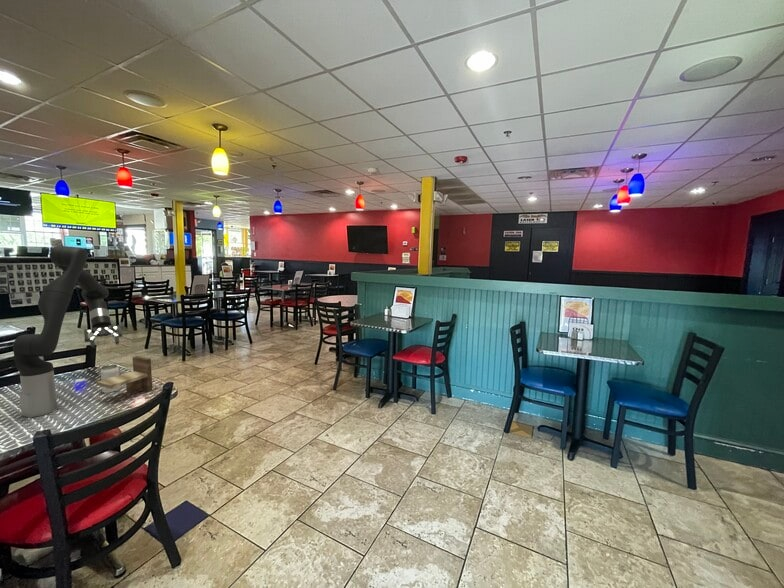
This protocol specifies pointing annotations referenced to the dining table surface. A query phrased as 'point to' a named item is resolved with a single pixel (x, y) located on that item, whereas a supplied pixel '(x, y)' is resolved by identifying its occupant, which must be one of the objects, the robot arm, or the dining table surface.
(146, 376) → the wooden l-shaped bracket
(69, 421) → the dining table surface
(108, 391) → the can
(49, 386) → the robot arm
